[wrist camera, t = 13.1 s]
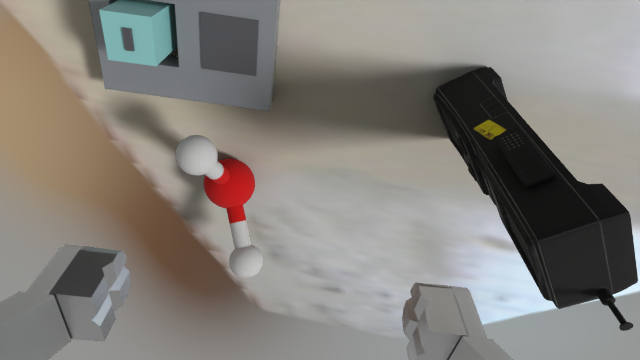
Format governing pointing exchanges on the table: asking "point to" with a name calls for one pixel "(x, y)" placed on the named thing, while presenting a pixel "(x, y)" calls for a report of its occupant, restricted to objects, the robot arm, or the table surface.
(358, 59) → the table surface
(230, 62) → the outlet plate
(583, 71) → the table surface
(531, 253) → the portable radio
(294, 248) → the table surface
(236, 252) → the molecular model
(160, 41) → the block
